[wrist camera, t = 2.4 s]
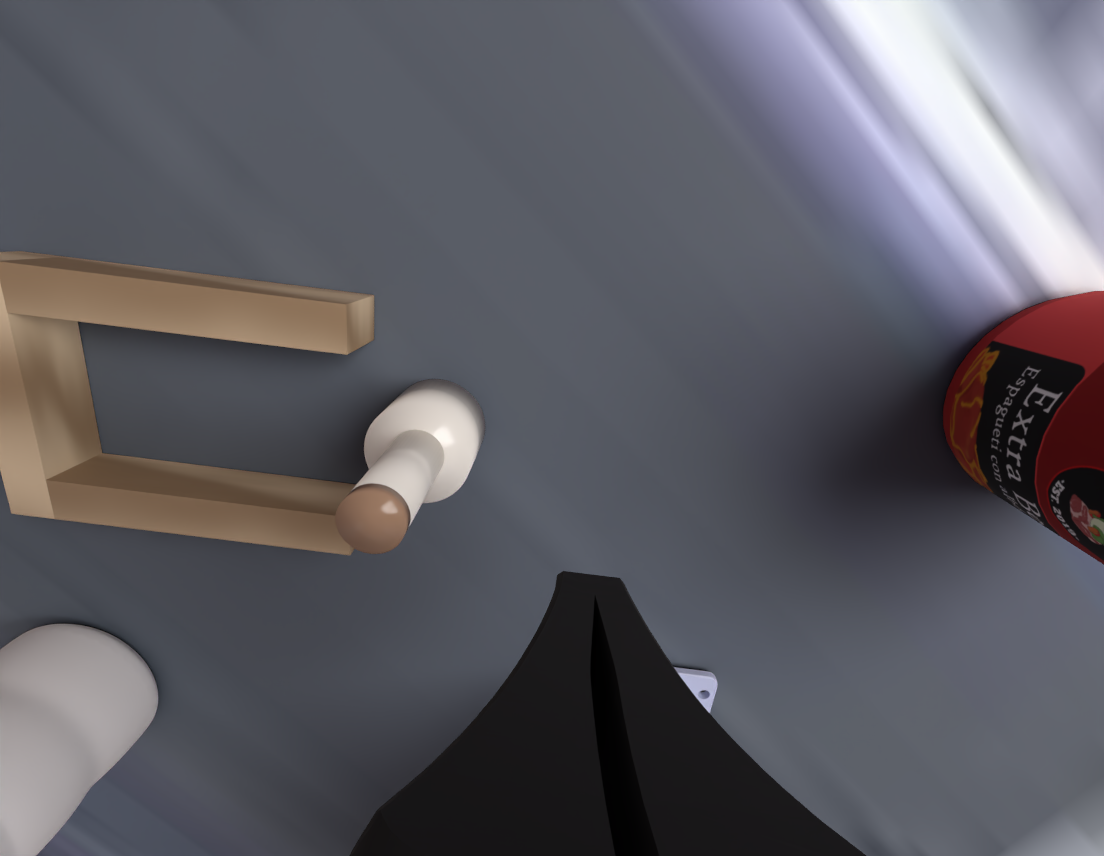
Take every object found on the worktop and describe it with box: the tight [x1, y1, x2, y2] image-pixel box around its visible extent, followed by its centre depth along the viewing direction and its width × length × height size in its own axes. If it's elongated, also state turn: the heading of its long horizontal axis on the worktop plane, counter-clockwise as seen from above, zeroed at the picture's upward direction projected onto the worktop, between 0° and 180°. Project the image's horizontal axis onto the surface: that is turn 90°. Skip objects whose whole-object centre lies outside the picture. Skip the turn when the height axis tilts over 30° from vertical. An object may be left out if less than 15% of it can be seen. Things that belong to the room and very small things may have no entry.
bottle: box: [335, 379, 485, 554], centre depth 17 cm, size 4×4×8 cm
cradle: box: [0, 251, 374, 555], centre depth 20 cm, size 9×13×2 cm
